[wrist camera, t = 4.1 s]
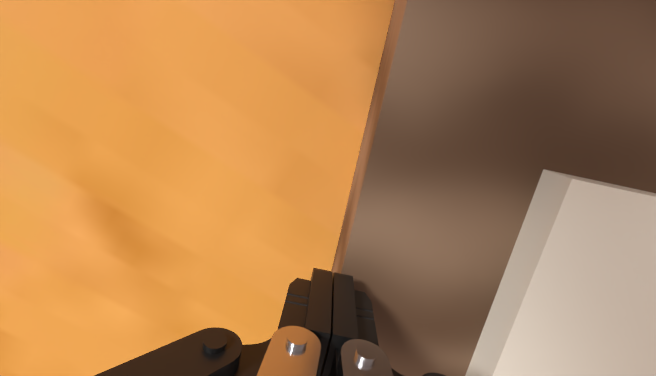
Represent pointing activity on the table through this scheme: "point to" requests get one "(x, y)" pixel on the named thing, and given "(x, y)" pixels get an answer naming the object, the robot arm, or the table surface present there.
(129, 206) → the table surface
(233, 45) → the table surface
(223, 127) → the table surface
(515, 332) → the white flat block
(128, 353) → the table surface
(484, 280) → the walnut deck
